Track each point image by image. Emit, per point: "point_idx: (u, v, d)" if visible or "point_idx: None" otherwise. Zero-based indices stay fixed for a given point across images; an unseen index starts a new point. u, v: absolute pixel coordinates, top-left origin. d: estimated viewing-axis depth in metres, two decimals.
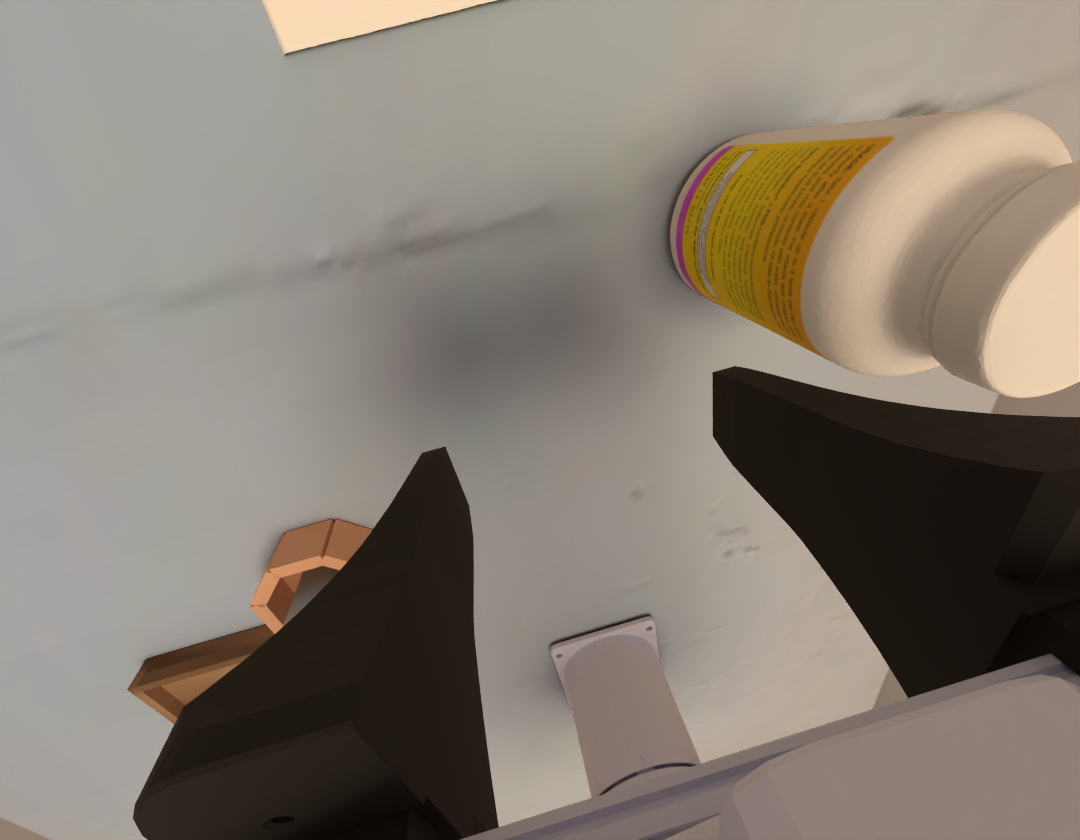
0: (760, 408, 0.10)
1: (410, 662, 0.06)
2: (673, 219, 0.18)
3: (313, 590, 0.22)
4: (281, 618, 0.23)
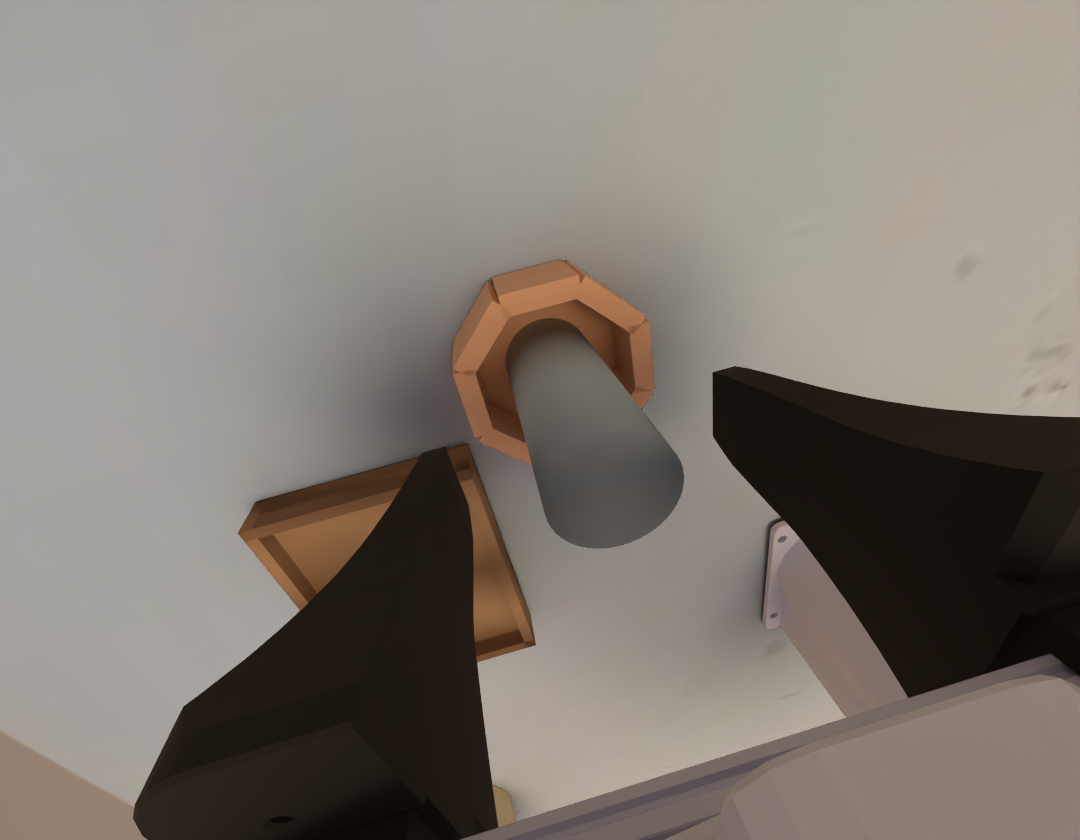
0: (760, 408, 0.10)
1: (410, 662, 0.06)
2: None
3: (557, 341, 0.14)
4: (486, 408, 0.15)
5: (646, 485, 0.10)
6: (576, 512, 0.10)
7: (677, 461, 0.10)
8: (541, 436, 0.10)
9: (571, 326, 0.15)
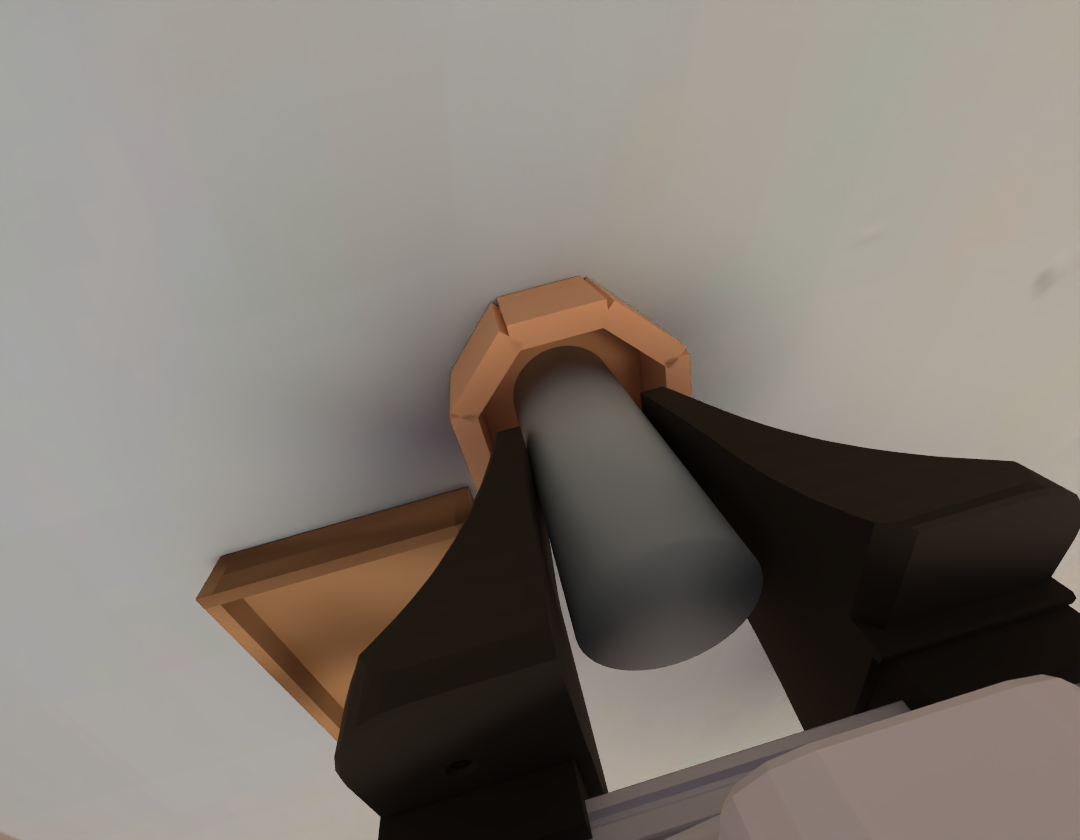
0: (676, 432, 0.10)
1: (555, 619, 0.06)
2: None
3: (579, 379, 0.11)
4: None
5: (713, 597, 0.07)
6: (618, 632, 0.07)
7: (756, 567, 0.07)
8: (567, 522, 0.08)
9: (592, 356, 0.13)
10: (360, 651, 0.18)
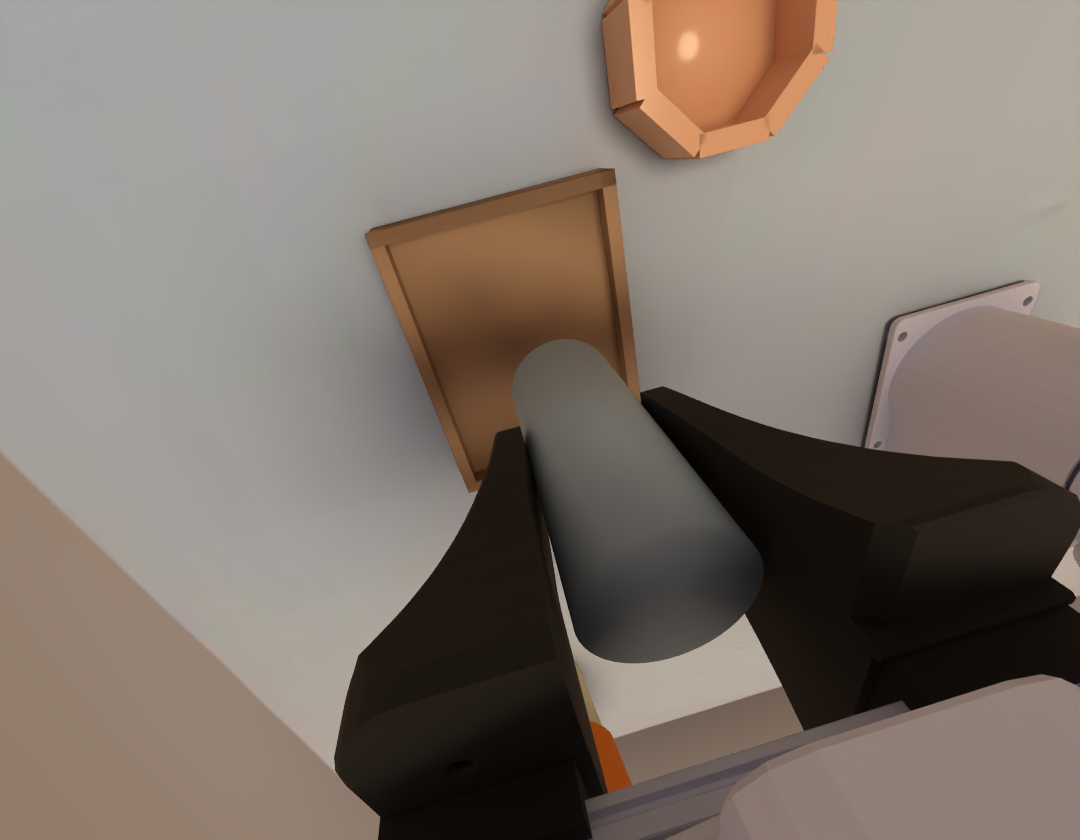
0: (676, 432, 0.10)
1: (554, 619, 0.06)
2: None
3: (583, 371, 0.11)
4: (652, 61, 0.14)
5: (712, 590, 0.07)
6: (615, 622, 0.07)
7: (758, 562, 0.07)
8: (569, 508, 0.08)
9: (595, 351, 0.13)
10: (486, 355, 0.19)
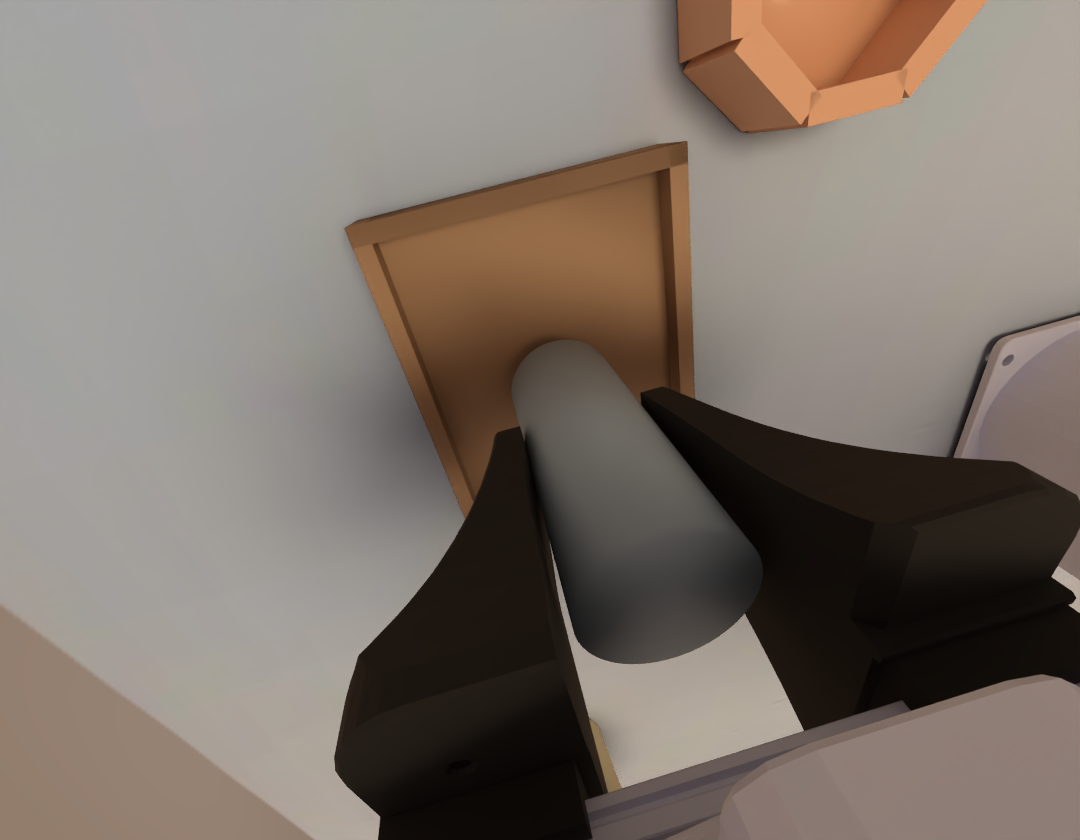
0: (676, 432, 0.10)
1: (555, 619, 0.06)
2: None
3: (583, 371, 0.11)
4: None
5: (712, 591, 0.07)
6: (615, 623, 0.07)
7: (758, 563, 0.07)
8: (569, 509, 0.08)
9: (595, 352, 0.13)
10: (504, 386, 0.15)
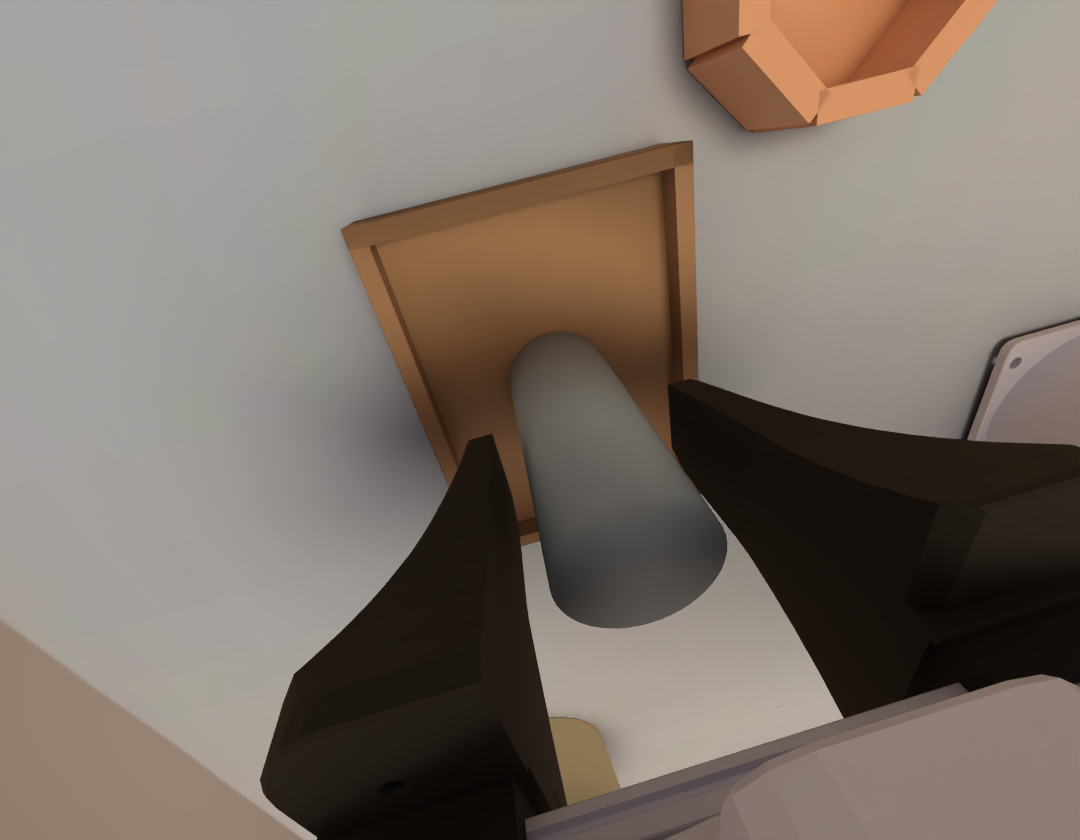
0: (708, 423, 0.10)
1: (501, 635, 0.06)
2: None
3: (574, 360, 0.12)
4: None
5: (679, 560, 0.08)
6: (589, 587, 0.08)
7: (722, 534, 0.08)
8: (551, 484, 0.08)
9: (588, 343, 0.13)
10: (505, 390, 0.14)
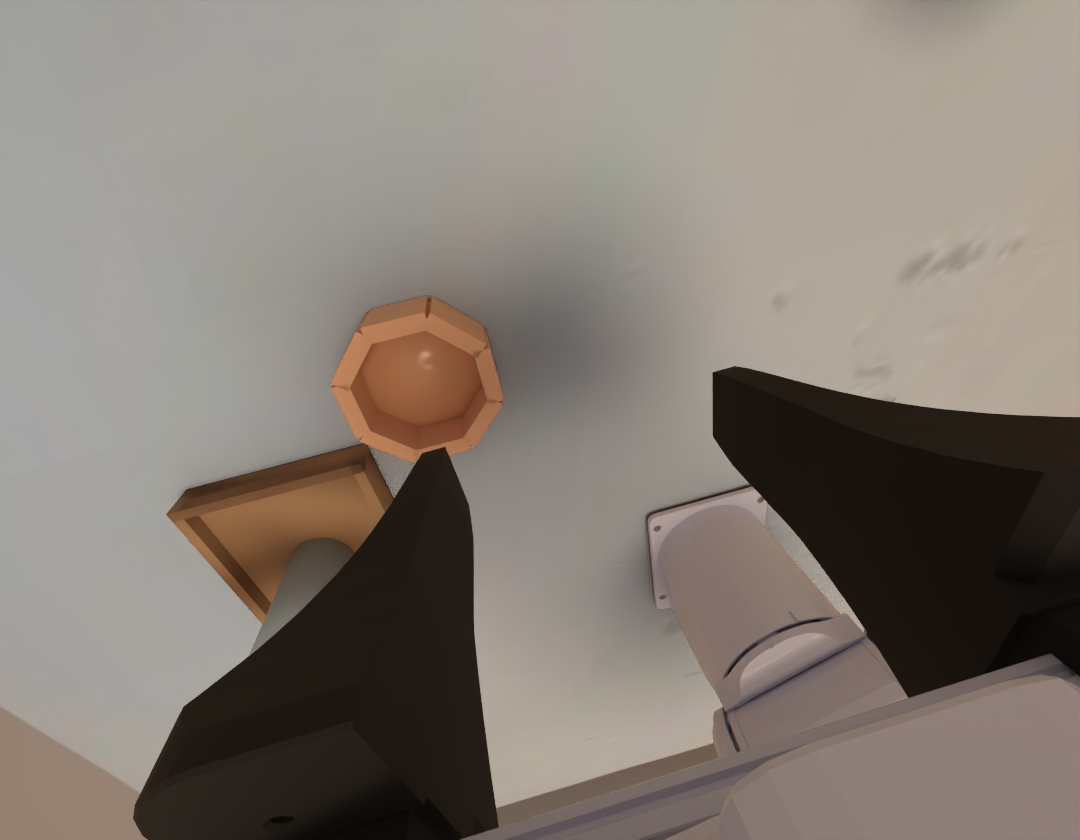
0: (760, 408, 0.10)
1: (410, 662, 0.06)
2: None
3: (303, 573, 0.21)
4: (364, 414, 0.19)
5: None
6: None
7: None
8: None
9: (332, 547, 0.23)
10: None
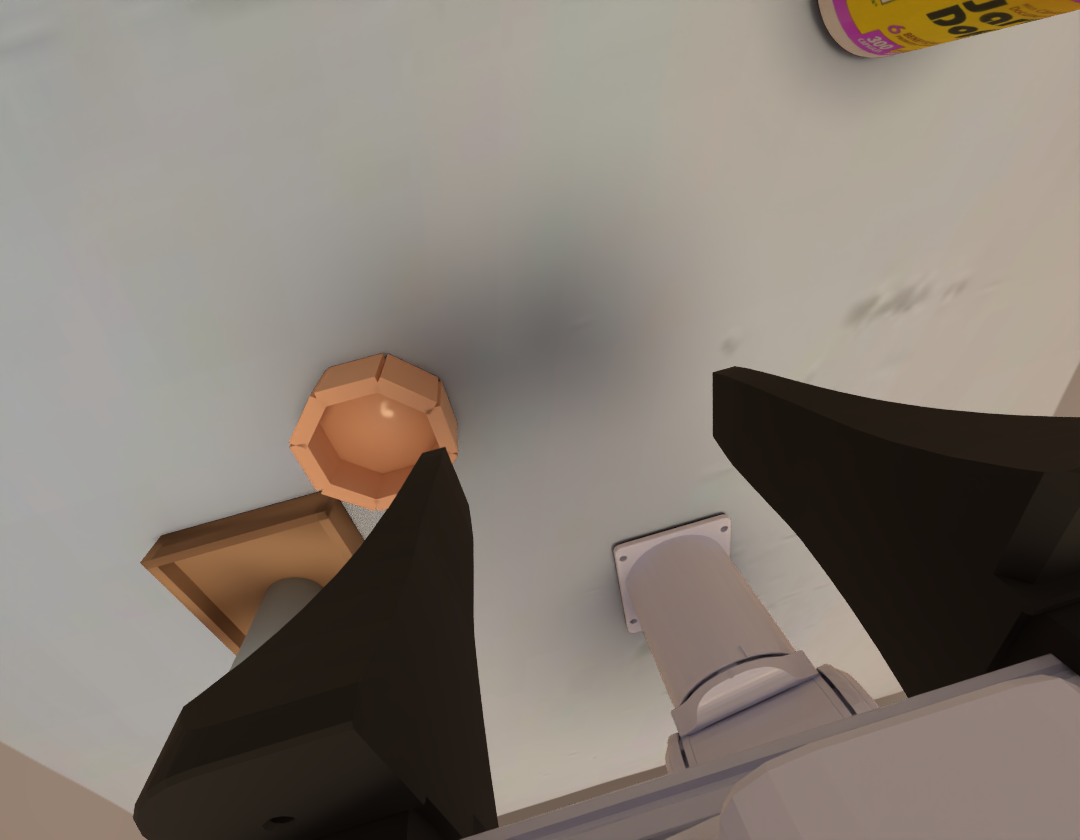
0: (760, 408, 0.10)
1: (410, 662, 0.06)
2: None
3: (272, 615, 0.22)
4: (324, 468, 0.20)
5: None
6: None
7: None
8: None
9: (302, 586, 0.24)
10: None
